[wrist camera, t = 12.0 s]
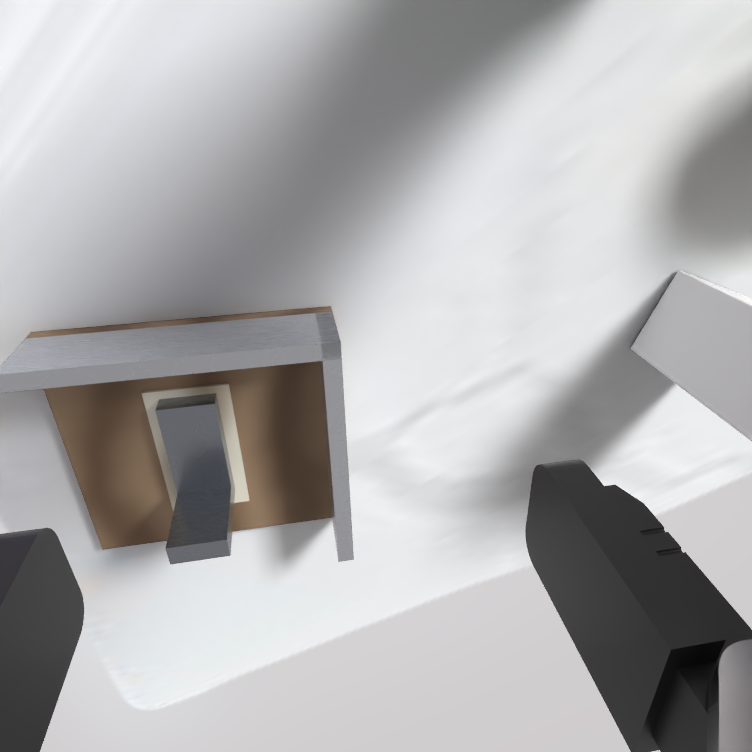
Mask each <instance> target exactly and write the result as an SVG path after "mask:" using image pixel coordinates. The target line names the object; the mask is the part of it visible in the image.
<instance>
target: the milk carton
mask: <svg viewBox="0 0 752 752" xmlns="http://www.w3.org/2000/svg"><path fill="white" fill-rule="evenodd" d="M631 350H632V351H634V352H635V353H636V354H638V355H639V356H640V357H642V358H643V359H644V360H645V361H647V362H648V363H649V364H651V365H652V366H653V367H655V368H656V369H657V370H659V371H660V372H661V373H663V374H664V375H665V376H667V377H668V378H669V379H670V380H672V381H673V382H674V383H676V384H677V385H678V386H680V387H681V388H682V389H684V390H685V391H686V392H688V393H689V394H690V395H691V396H693V397H694V398H695V399H697V400H698V401H699V402H701V403H702V404H703V405H705V406H706V407H707V408H709V409H710V410H711V411H712V412H714V413H715V414H716V415H718V416H719V417H720V418H722V419H723V420H724V421H726V422H727V423H728V424H730V425H731V426H732V427H734V428H735V429H736V430H737V431H739V432H740V433H741V434H743V435H744V436H745V437H747V438H748V439H749V440H751V441H752V299H750V298H748V297H746V296H744V295H741V294H739V293H737V292H734V291H732V290H729V289H726V288H724V287H721V286H719V285H716V284H714V283H711V282H708V281H706V280H703V279H701V278H698V277H696V276H693V275H691V274H688V273H685V272H683V271H678V272H677V273H676V275H675V277H674V278H673V280H672V282H671V283H670V285H669V286H668V288H667V290H666V291H665V293H664V294H663V296H662V298H661V299H660V301H659V303H658V304H657V306H656V308H655V309H654V311H653V312H652V314H651V316H650V317H649V319H648V321H647V322H646V324H645V325H644V327H643V329H642V330H641V332H640V334H639V335H638V337H637V339H636V340H635V342H634V343H633V345H632V347H631Z"/></svg>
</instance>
